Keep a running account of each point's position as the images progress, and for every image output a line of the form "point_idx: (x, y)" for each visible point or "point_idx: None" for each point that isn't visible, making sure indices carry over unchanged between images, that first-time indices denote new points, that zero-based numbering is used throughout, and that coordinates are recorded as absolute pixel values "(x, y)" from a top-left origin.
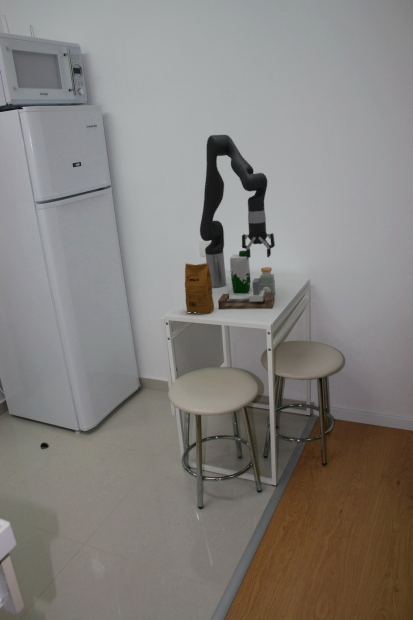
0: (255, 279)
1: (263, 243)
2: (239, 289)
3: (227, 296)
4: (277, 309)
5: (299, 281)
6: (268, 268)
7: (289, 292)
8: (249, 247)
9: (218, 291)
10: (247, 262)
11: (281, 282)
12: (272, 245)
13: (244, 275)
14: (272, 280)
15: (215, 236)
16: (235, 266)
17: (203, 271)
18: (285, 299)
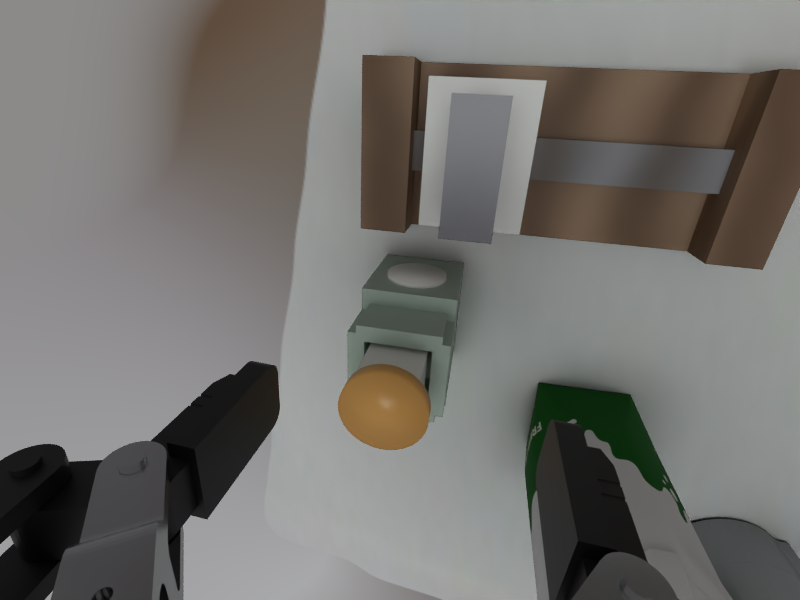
0: (480, 205)
1: (138, 580)
2: (597, 401)
3: (726, 202)
4: (344, 36)
5: (289, 482)
6: (363, 411)
7: (312, 347)
8: (579, 594)
9: (728, 455)
10: None
11: (367, 493)
12: (11, 483)
13: None
14: (357, 319)
15: None
16: (675, 545)
17: None
18: (319, 236)
